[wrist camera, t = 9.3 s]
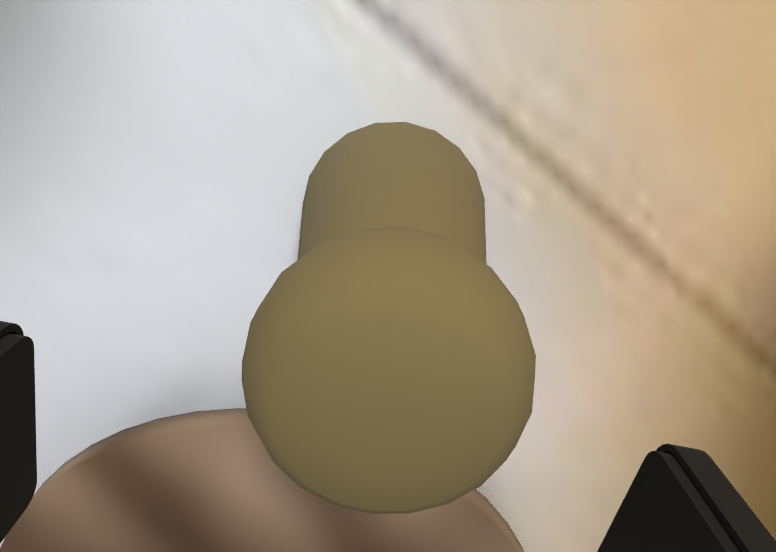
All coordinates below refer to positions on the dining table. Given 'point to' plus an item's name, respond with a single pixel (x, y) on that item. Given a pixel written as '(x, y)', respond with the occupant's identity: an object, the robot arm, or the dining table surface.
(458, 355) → the cork
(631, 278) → the dining table surface
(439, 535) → the turntable
